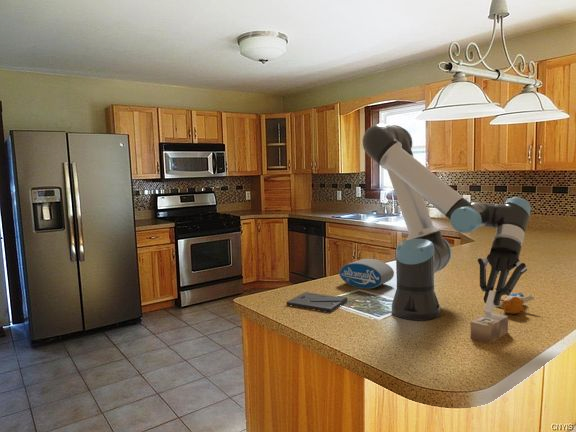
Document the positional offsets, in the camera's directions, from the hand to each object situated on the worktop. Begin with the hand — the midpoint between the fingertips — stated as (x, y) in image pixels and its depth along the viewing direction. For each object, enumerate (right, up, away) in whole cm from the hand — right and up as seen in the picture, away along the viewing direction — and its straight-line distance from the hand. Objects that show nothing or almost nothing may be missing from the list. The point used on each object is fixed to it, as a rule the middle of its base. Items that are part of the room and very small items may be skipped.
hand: (487, 313), depth 111 cm
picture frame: (-43, -6, +37) cm, 58 cm away
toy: (+19, -4, +23) cm, 30 cm away
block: (+6, -4, +6) cm, 10 cm away
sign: (-22, -2, +58) cm, 62 cm away
